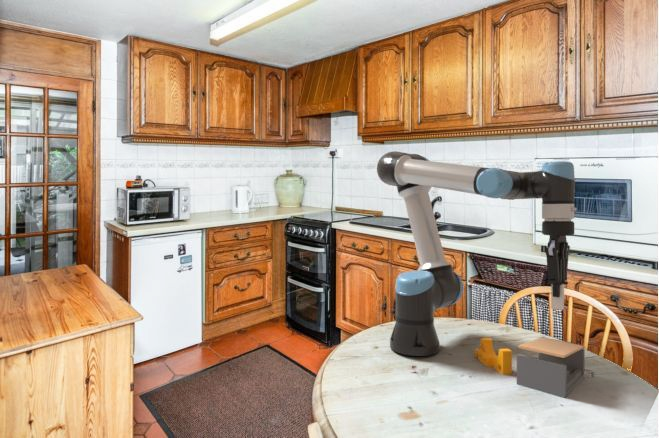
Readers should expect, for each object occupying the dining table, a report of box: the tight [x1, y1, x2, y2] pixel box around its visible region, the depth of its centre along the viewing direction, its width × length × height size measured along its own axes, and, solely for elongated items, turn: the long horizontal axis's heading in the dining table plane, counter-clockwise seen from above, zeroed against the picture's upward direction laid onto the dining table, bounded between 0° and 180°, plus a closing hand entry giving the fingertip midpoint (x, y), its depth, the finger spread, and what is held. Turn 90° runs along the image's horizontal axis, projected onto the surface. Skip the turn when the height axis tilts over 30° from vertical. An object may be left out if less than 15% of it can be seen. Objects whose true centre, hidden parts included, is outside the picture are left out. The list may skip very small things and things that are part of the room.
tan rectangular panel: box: [517, 336, 585, 358], centre depth 106 cm, size 10×18×1 cm, turn 135°
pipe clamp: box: [474, 337, 513, 376], centre depth 116 cm, size 12×4×6 cm, turn 8°
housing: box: [516, 348, 586, 398], centre depth 106 cm, size 11×17×8 cm, turn 135°
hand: (557, 308), depth 109 cm, fingers closed
